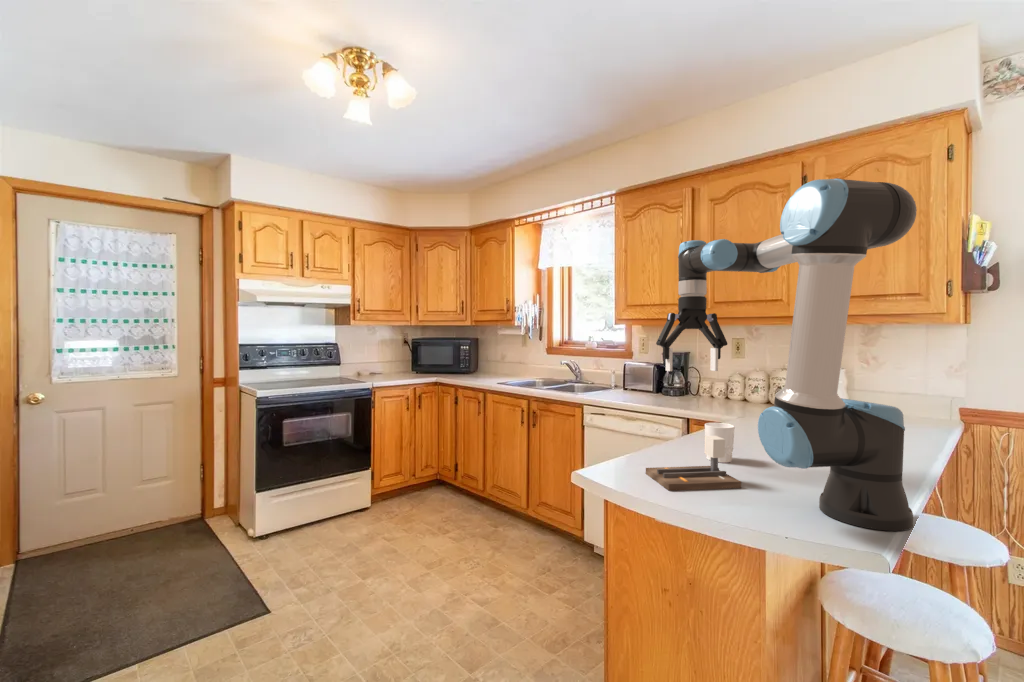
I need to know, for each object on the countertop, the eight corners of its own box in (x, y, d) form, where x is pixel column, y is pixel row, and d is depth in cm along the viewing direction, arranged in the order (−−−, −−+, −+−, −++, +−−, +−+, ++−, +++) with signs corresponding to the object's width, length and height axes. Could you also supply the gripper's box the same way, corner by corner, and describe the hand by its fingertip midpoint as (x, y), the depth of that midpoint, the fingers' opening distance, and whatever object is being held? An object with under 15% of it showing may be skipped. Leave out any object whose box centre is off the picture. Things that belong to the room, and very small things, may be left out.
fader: (724, 473, 116) (725, 439, 116) (712, 474, 116) (713, 439, 116) (715, 469, 120) (715, 435, 120) (704, 469, 120) (704, 435, 120)
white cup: (728, 456, 140) (728, 422, 140) (738, 464, 132) (738, 428, 132) (700, 455, 141) (701, 422, 140) (708, 463, 133) (709, 427, 133)
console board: (741, 487, 112) (741, 477, 112) (668, 490, 110) (668, 479, 110) (711, 471, 125) (711, 462, 125) (645, 473, 123) (645, 464, 122)
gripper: (725, 298, 140) (725, 369, 141) (645, 296, 137) (644, 370, 138) (741, 295, 133) (740, 371, 133) (656, 294, 130) (655, 371, 130)
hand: (691, 371), depth 135 cm, fingers open, 13 cm apart
